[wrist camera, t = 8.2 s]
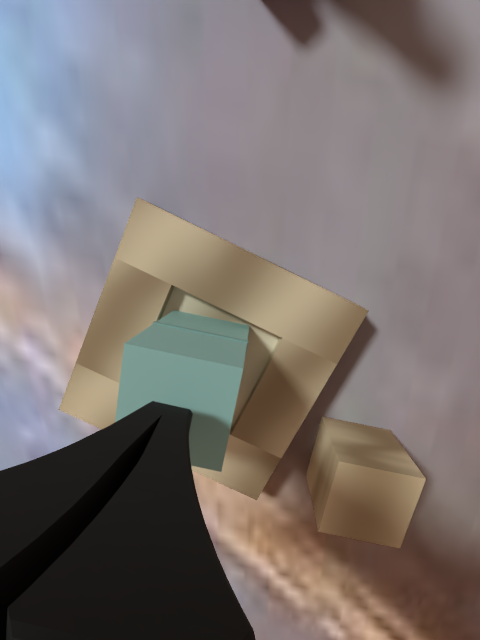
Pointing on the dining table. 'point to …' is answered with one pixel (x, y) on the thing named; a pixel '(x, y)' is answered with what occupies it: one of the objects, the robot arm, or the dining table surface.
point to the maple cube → (362, 483)
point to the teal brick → (188, 377)
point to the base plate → (225, 304)
